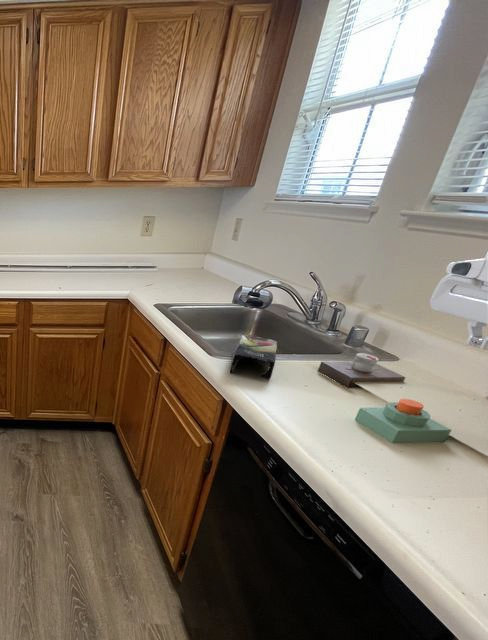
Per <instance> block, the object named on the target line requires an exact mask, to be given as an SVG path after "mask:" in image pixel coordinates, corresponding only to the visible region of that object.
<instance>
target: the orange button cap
mask: <svg viewBox="0 0 488 640" xmlns="http://www.w3.org/2000/svg"><path fill="white" fill-rule="evenodd" d="M398 402H399V403H398V405H397V407H396V409H397V410H399V411H401V412H404V413H407V414H411V415H420V413H421V411H422V410H424V407H425V406H424V404H423V403H421V402H419V401H417V400H414V399H410V398H409V399H408V398H400V399H399V401H398Z"/></svg>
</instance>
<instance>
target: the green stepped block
mask: <svg viewBox="0 0 488 640" xmlns="http://www.w3.org/2000/svg"><path fill="white" fill-rule="evenodd" d="M398 403H399V401H392V402H391V401H390V402H388V403H387V404H385V407H380V406H379V407H359V409H358V411H357V413H356V415H355V418H354V420H355V421H356V422H358V423H359V424H362V426H365V428H367V429H369V430H371V431H372V432H373V433H376V434H377V435H379V436H380V437H382V438H383V439H385V440H387V441H388V442H389V443H390V444H417V443H419V444H421V443H422V444H423V443H425V444H426V443H445V442H446V440H447V439H448V437H449V436H450V433H451V432H452V429H450V428H449V427H447V426H445V425H443V424H441V423H440V422H437V421H436V420H434V419H432V418H431V414H430V413H429V412H428V411H426V410H424V409H422V411H421V413H420V415H411V414H407V413H404V412H401V411H399V410H397V409H396V407H397V405H398Z"/></svg>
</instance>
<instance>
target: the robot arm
mask: <svg viewBox="0 0 488 640" xmlns="http://www.w3.org/2000/svg"><path fill="white" fill-rule="evenodd" d="M445 273H446V274H447V275H444V276H443V277H442V278H441V279H440V280H439V282H438V284H437V285H436V287H435V289H434V291H433V293H432V295H431V297H430V300H429V306H430V309H431V310H433V311H436V312H441V313H443V314H448V315H452V316H456V317H458V318H461V319H466V320H468V322H467V323H466V327H467V333H468V338H467V340H466V342H465V344H466V345H468V346H471V347H473V348H477V349H480V350H484V351H485V350H487V351H488V335H487V336H484V335H483V328H485V327H487V326H488V251H487V253H486V254H485V257H484V258H477V259H470V260H461V261H453V262H450V263H449V264H448V265H447V267H446V270H445Z"/></svg>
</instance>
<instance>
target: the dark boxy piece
mask: <svg viewBox="0 0 488 640" xmlns="http://www.w3.org/2000/svg"><path fill="white" fill-rule="evenodd" d="M277 350H278V341H277V340H274V339H269V338H264V337H261V336H260V337H259V336H251V335H250V336H249V335H245V334H244V335H243V334H242V335H241V336H240V339H239V341H238V343H237V345H236V347H235V349H234V351H233V354H232V358H231V363H230V367H229V373H230V374H233V370H234V367H235V366H236V364H237V362H238V361H240V360H242V359H253V360H255V359H257V361H258V362H266V363H268V367H269V368H268V369H266V372H263V373H262V374H260V376H259V377H260V378H262V379H265V380H271V378H272V375H273V371H274V368H275V364H276V358H277V353H276V352H277Z"/></svg>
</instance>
